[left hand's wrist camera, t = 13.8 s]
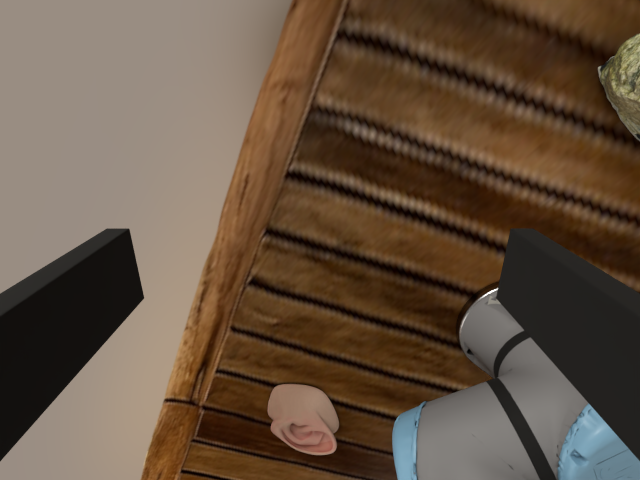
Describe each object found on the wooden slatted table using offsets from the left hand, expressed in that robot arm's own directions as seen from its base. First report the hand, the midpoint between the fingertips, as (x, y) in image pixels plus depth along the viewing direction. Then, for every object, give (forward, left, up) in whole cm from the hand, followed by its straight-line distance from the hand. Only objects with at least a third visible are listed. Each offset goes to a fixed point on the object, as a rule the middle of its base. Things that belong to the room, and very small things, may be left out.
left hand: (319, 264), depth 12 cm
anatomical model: (-9, +43, -34) cm, 56 cm away
